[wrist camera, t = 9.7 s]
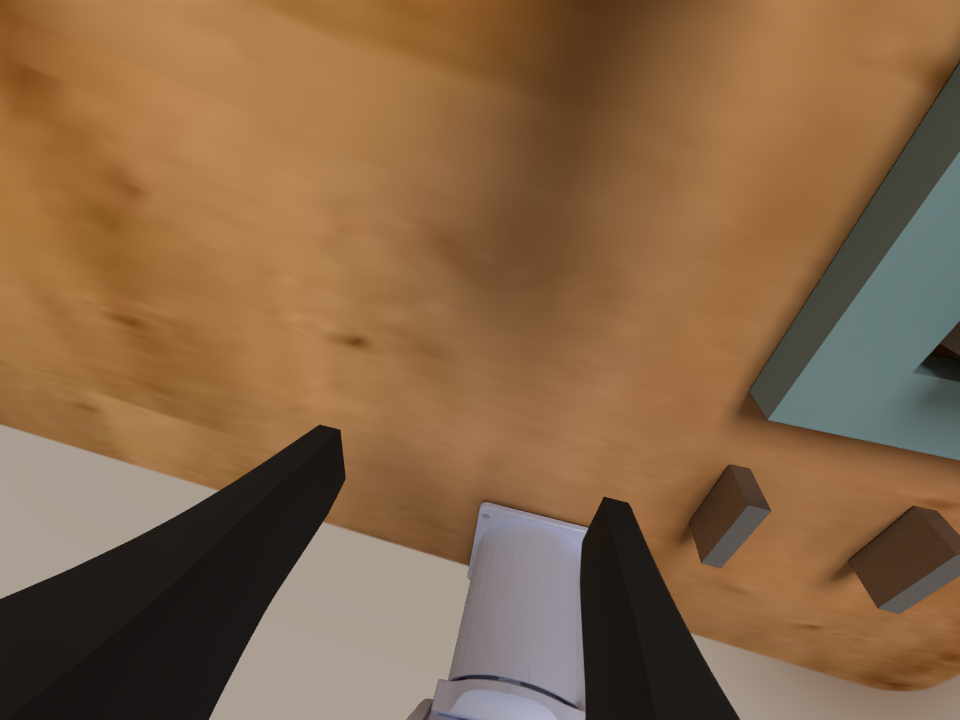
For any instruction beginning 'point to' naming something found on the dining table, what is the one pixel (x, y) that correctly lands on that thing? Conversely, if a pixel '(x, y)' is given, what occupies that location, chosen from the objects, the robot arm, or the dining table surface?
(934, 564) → the metal stand
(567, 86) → the dining table surface
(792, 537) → the dining table surface
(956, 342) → the walnut block
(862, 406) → the socket board
